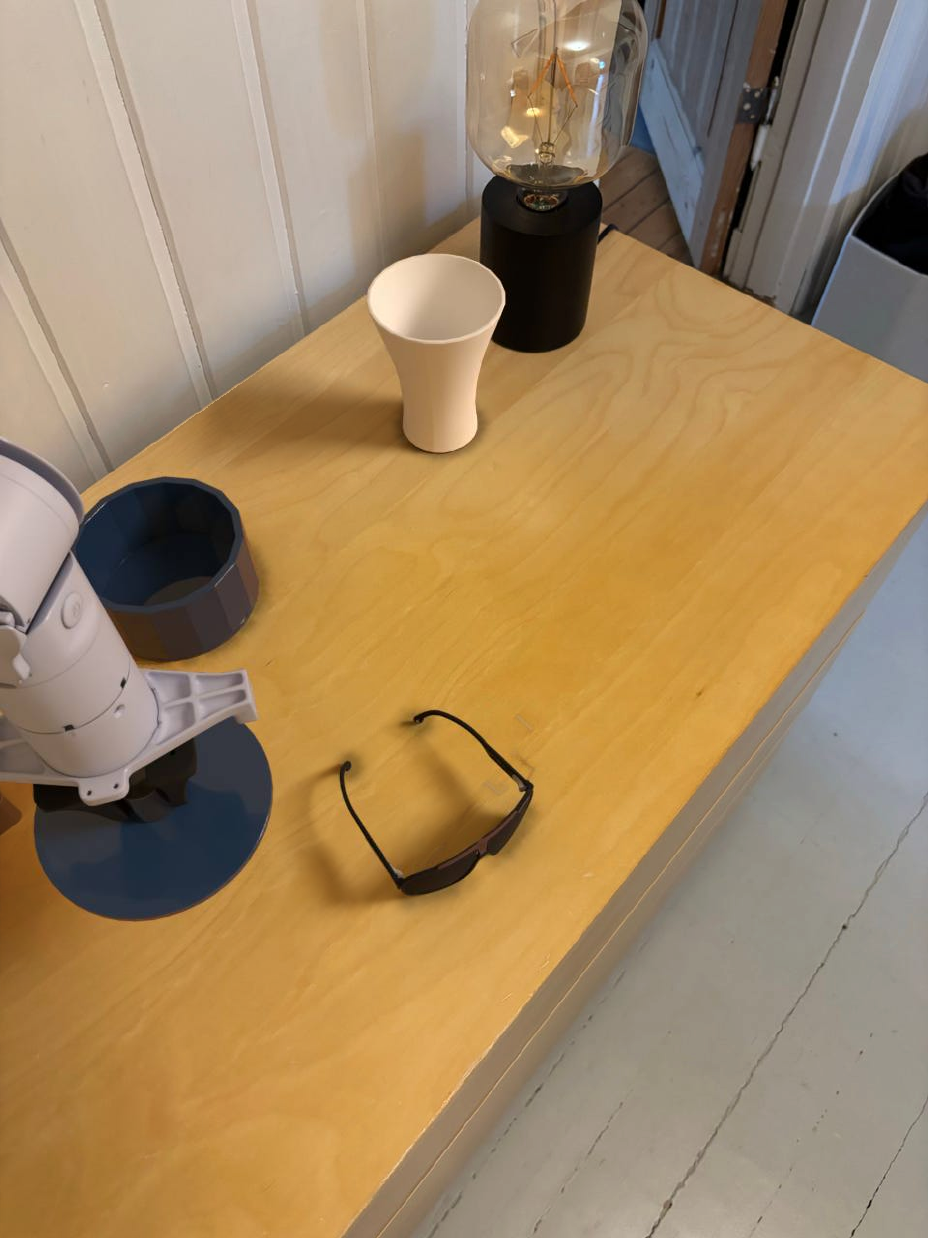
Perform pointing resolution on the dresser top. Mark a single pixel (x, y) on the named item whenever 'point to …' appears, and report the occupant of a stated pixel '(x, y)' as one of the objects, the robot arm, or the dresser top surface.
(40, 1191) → the dresser top surface
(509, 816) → the sunglasses
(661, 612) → the dresser top surface
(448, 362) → the cup
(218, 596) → the pot
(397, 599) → the dresser top surface
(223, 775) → the lid
